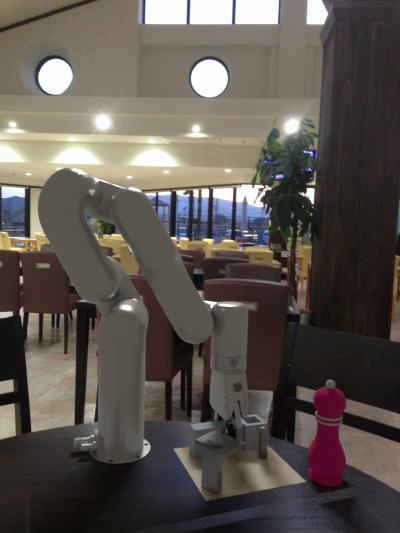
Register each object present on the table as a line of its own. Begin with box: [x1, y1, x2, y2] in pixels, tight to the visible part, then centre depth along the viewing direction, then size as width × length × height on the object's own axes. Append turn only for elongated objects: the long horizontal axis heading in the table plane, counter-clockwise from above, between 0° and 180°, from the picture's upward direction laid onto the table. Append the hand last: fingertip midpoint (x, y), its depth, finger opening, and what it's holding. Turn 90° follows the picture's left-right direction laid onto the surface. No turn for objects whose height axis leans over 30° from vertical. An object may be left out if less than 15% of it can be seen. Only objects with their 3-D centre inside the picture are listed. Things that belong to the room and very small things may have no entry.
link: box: [188, 413, 268, 457], centre depth 95 cm, size 16×5×6 cm, turn 110°
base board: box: [173, 445, 307, 502], centre depth 88 cm, size 20×19×1 cm
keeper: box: [195, 430, 245, 495], centre depth 81 cm, size 6×7×9 cm
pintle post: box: [258, 425, 270, 459], centre depth 91 cm, size 2×2×8 cm
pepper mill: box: [306, 379, 347, 493], centre depth 84 cm, size 7×7×20 cm
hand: (224, 445), depth 95 cm, fingers closed on link, 3 cm apart
